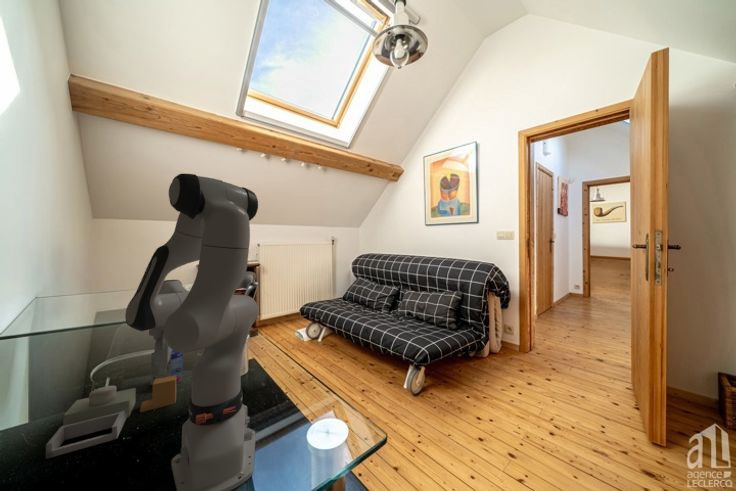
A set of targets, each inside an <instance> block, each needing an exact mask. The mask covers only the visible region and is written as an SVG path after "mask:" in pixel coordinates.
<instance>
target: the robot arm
mask: <svg viewBox="0 0 736 491" xmlns="http://www.w3.org/2000/svg"><path fill="white" fill-rule="evenodd" d="M168 198H169V203H170V205H171V207H172V208H173V209H174V210H175V211H176V212H179V213H178V217H177V219H176V223H175V228H174V231H173V233H172V234H171V237H170V238H169V239H168V241H166V242H165V243H164V244H163V245H161V246H159V247H157V248H156V249H155V250H154V252H153V255H152V256H151V258H150V260H149V261H148V264H147V266H146V268H145V271H144V274H143V276H142V277H141V279H140V282H139V284H138V287H137V289H136V291H135V293H134V295H133V296H132V298H131V299H130V301H129V302H128V304H127V306H126V309H125V315H124V316H125V322H126V324H127V326H128V327H130V328H132V329H135V331H139V332H145V331H148V335H149V336H151V337H153V340H155V343H154V352H153V353H154V365H155V366H158V368H159V375H164V374H166V369H167V367H166V366H167V363H169V361H170V356H171V352H172V350H174V351H176V352H178V353H183V354H185V353H192V352H197V351H201V350H203V352H202V353H201V355H200V357H199V358H198V359H197V360H196V362H195V363H194V366H193V368H192V370H191V398H190V400H189V405H188V418H187V420H186V421H185V422H184V423H183V424H182V429H181V448H180V450H179V453H177V454H176V455H175V456H174V457H173V458H172V459H171V464H170V466H171V471H172V475H173V480H174V484H175V488H176V491H232V490H234V489H236V488H238V487H239V486H241V485H243V484H244V483H245V482H246V481H248V480H249V479H250V478H251V477H253V475H254V470H255V469H254V468H255V467H254V466H255V453H256V452H255V451H256V450H255V449H256V440H257V439H256V431H255V430H253V429H251V428H250V427H248V424H249V423H250V422H251V417H250V416H248V406H247V405H245V404H243V397H244V394H243V387H242V386H241V381H242V379H241V375H242V374H241V373H242V359H243V353H244V350H245V346H246V343H247V340H248V337H249V334H250V331H251V328H252V326H253V325H254V323H255V322H256V321H257V319H258V316H259V306H258V304H257V302H256V300H255V299H254V298H253V297H251V296H249V295H247V294H246V295H245V294H235V292H236V291H237V288H238V287H239V285H241V283H243V281H244V280H245V278H246V276H247V271H248V270H247V269H248V259H249V251H250V240H251V229H250V222H251V221H252V220H253V219H254V217H256V214H257V213H258V210H259V200H258V196H257V194H256V193H255V192H254V191H253V190H250V189H248V188H246V187H244V186H242V187H241V186H239V185H235V184H233V183H229V182H226V181H223V180H221V179H217V178H212V177H208V176H207V177H206V176H200V175H196V174H194V173H179V174H177V175H176V176H174V178H173V179H172V180H171V183H170V185H169V187H168ZM197 261H198V265H197V272H196V276H195V279H194V281H193V284H192V286H191V288H190V290H188V289H186V288H185V287H184V285H183V283H182V281H181V280H180V279H166V278H167V276H168V275H169V274H170V273H171V272H172V271H174V270H176V269H177V268H180V267H182V266H185V265H188V264H190V263H193V262H197Z"/></svg>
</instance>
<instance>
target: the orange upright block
mask: <svg viewBox="0 0 736 491" xmlns="http://www.w3.org/2000/svg"><path fill="white" fill-rule="evenodd" d="M151 396H152V398H151V399H147V400H145V401H143V400H142V402H141V406H140V408H139V411H140V413H144V412H148V411H152V410H155V409H160V408H163V407H167V406H171V405H175V404H176V400H177V384H176V375H174V376H169V377H164V378H160V379H155V380H154V382H153V385H152V395H151Z"/></svg>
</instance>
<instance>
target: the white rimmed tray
mask: <svg viewBox="0 0 736 491" xmlns="http://www.w3.org/2000/svg"><path fill="white" fill-rule="evenodd" d="M136 392H137V389H136V387H133V388H127V389H123V390H118V391H117V385H106V386H102V387H98V388H96V389H94V390H92V391H91V392H89V393H88V397H85V398H81V399H80V398H79V399H76V400H75V402H73V403H72V405H71V406H70V407H69V409H68V410H67V411H66V412H65V413H64V414H63V417H62V418H63V421H62V422H63V423H62V424H63V425H61V426H60V427H59V428H58V429H57V431H56V432H55V433H54V434H53V435H52V437H51V438H50V439H49V441H47V443H46V444H45V459H46V460H47V459H50V458H54V457H57V456H61V455H64V454H68V453H72V452H75V451H79V450H83V449H86V448H90V447H93V446H96V445H99V444H104V443H106V442H111V441H114V440H117V439H118V438H119V435H120V433H121V431H122V429H123V427H124V425H125V423H126V420H127V418H129V417H130V416H131V414H132V412H133V409H134V407H135V405H136V398H137V397H136ZM107 429H111V432H110V433H107V434H103V435H99V436H95V437H92V438H88V439H84V440H80V441H78V442H74V443H69V444H67V445H62V444H63V443H64V442H65V441H66V440H70V439H74V438H77V437H78V438H79V437H81V436H85V435H90V434H92V433H97V432H100V431H103V430H107ZM61 445H62V446H61Z"/></svg>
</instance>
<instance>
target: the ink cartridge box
mask: <svg viewBox="0 0 736 491" xmlns="http://www.w3.org/2000/svg"><path fill="white" fill-rule="evenodd" d="M150 357H151V358H150V380H149V381H150V383H149V385H151V386H153V382H154V380H155V379H160V378H164V377H169V376H174V375H176V385H177V384H179V382H180V383H181V381H182V382H183V378H184V377H183V375H184V372H183V370H184V367H183V365H184V353H178V352H176V351H174V350H172V352H171V356H170V361H169V363H167V366H166V367H167V369H166V374H164V375H159V368H158V366H155V365H154V352H152V353H151V356H150Z"/></svg>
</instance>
